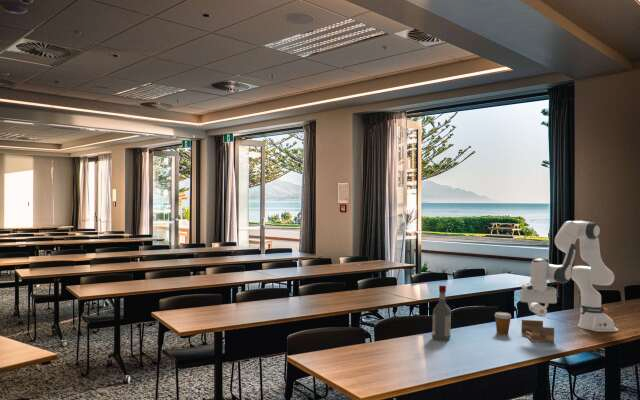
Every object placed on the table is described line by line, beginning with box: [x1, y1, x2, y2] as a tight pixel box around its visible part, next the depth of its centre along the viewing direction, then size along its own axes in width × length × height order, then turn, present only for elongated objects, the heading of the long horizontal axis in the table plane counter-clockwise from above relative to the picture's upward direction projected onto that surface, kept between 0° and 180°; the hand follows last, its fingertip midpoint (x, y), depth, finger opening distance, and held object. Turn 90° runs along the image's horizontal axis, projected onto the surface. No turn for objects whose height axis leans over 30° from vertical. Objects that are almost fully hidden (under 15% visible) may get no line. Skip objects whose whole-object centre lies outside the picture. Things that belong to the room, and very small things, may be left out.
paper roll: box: [528, 302, 548, 318], centre depth 286 cm, size 13×6×6 cm, turn 176°
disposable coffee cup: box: [494, 311, 512, 336], centre depth 294 cm, size 10×10×12 cm
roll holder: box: [521, 319, 555, 344], centre depth 286 cm, size 20×12×8 cm, turn 176°
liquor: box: [431, 285, 452, 342], centre depth 279 cm, size 9×9×30 cm
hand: (537, 310), depth 286 cm, fingers closed on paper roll, 6 cm apart
